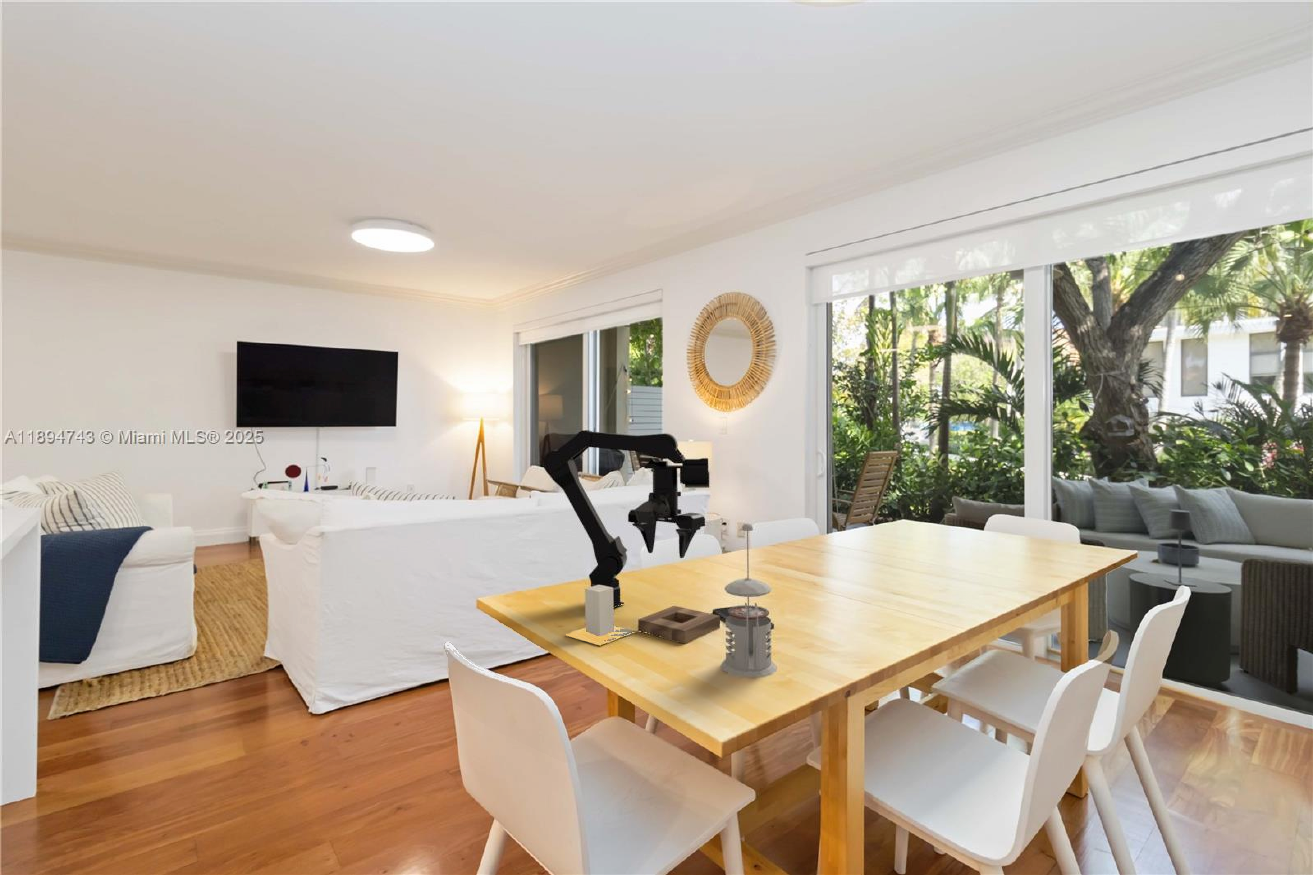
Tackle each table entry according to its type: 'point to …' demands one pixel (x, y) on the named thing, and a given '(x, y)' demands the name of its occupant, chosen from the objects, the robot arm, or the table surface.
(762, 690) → the table surface
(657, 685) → the table surface
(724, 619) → the phone
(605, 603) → the cream block
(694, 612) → the walnut square frame
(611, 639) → the grey mat
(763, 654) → the french press
